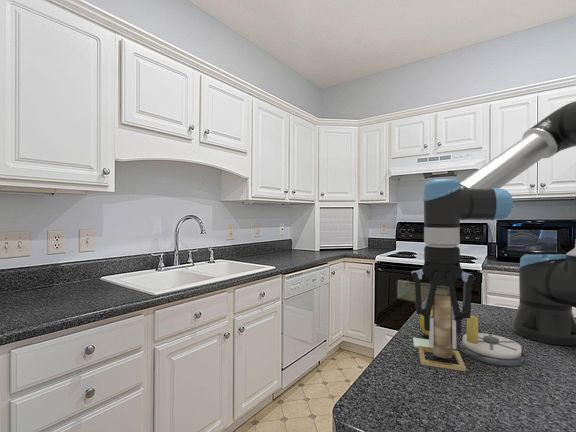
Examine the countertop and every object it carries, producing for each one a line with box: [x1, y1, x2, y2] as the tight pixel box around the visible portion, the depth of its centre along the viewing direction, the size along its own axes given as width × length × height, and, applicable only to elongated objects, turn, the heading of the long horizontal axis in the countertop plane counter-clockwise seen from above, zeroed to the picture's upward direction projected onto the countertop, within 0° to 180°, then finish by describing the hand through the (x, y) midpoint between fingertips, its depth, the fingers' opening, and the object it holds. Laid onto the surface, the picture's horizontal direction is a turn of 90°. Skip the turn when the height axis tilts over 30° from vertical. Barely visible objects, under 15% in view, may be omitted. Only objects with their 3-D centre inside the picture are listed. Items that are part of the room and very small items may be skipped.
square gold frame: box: [417, 346, 467, 372], centre depth 74 cm, size 9×9×1 cm
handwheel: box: [462, 315, 522, 359], centre depth 77 cm, size 12×12×8 cm
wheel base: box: [460, 340, 525, 368], centre depth 77 cm, size 13×13×1 cm
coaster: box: [412, 337, 433, 349], centre depth 82 cm, size 6×6×1 cm
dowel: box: [432, 292, 453, 359], centre depth 74 cm, size 4×4×14 cm
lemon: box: [419, 308, 433, 337], centre depth 88 cm, size 6×6×8 cm
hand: (442, 345), depth 74 cm, fingers closed on dowel, 4 cm apart
